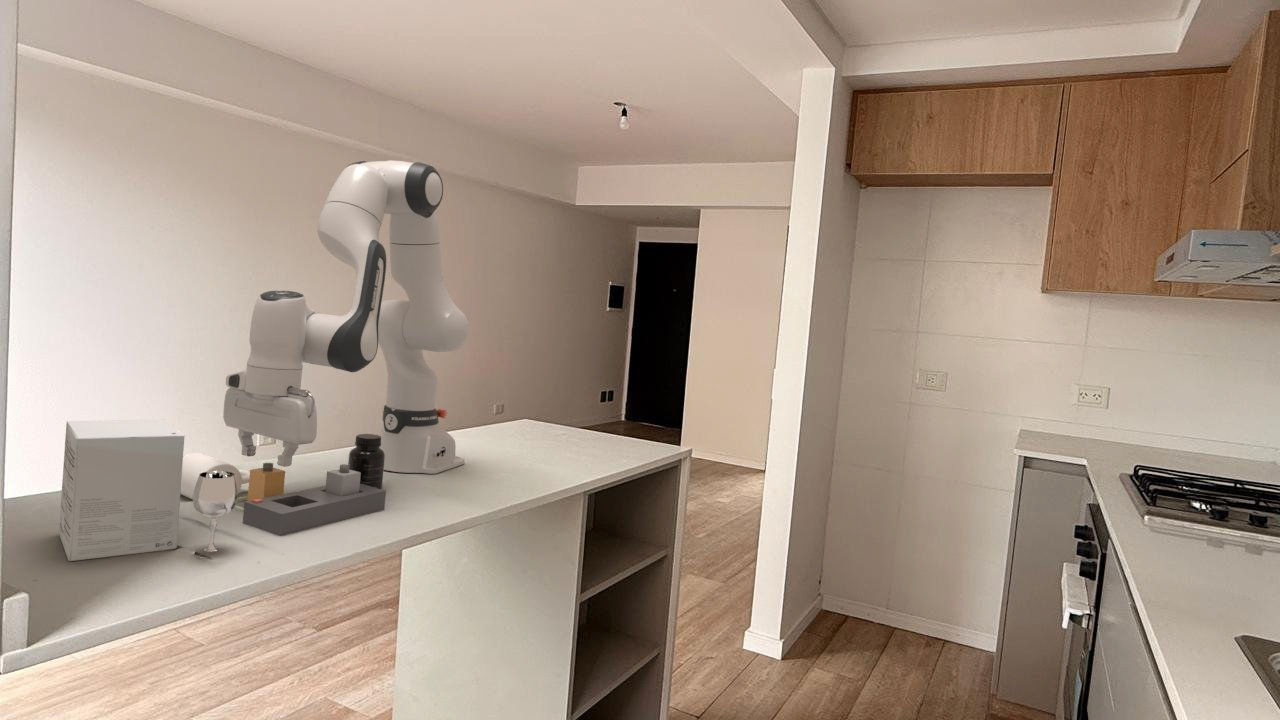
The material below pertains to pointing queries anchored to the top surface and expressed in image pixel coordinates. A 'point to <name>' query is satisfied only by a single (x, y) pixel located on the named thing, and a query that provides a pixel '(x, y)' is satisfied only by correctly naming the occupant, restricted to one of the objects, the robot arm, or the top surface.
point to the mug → (205, 463)
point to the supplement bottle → (368, 460)
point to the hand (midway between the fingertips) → (265, 460)
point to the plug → (265, 482)
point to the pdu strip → (310, 509)
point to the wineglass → (214, 499)
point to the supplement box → (120, 488)
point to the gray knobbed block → (343, 481)
